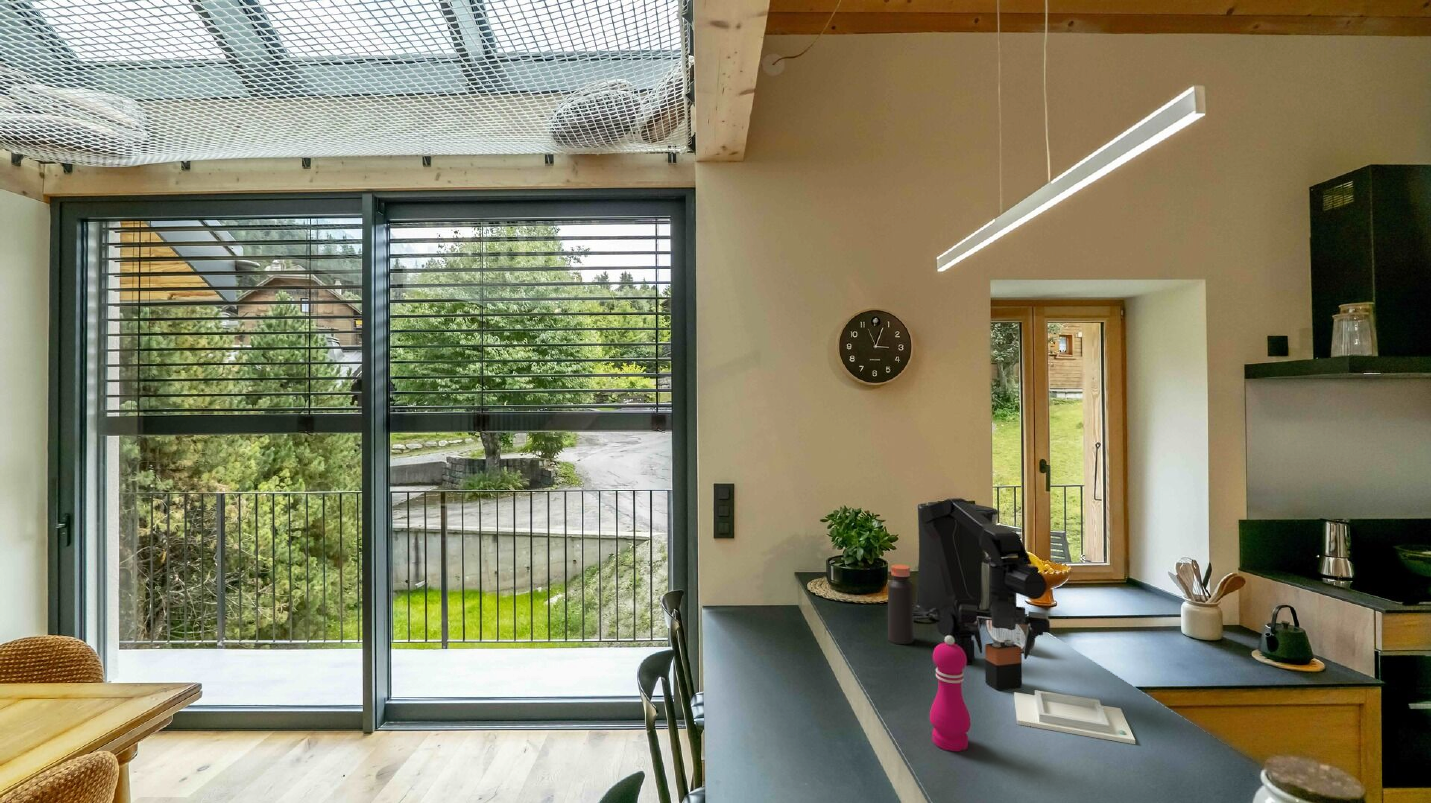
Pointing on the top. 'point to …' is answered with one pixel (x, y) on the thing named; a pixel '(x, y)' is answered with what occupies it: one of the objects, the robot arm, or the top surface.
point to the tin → (1008, 634)
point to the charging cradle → (1072, 716)
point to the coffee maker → (971, 562)
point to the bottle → (900, 606)
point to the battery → (1003, 665)
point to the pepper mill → (949, 698)
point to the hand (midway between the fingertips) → (1002, 655)
